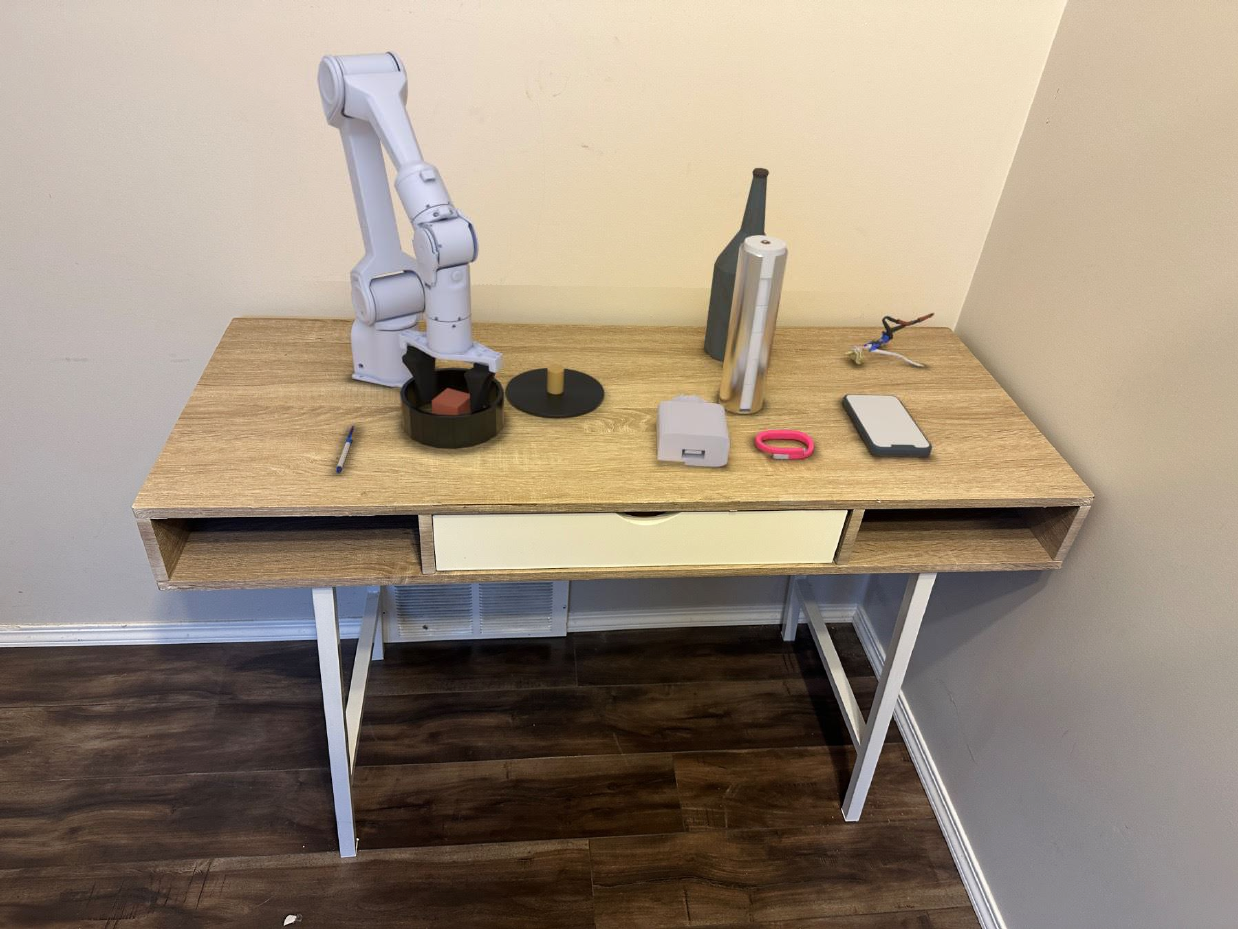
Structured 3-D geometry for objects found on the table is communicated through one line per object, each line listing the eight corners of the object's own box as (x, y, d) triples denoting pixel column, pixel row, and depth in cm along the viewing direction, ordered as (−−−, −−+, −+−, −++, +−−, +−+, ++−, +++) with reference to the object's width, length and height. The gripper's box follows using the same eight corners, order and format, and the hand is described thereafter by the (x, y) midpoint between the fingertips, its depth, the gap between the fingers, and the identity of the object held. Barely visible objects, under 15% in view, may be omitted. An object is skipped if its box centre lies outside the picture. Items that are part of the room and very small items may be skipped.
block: (433, 426, 123) (431, 400, 121) (448, 412, 126) (447, 387, 124) (458, 433, 122) (457, 407, 120) (473, 419, 125) (472, 394, 123)
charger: (717, 411, 132) (726, 467, 119) (654, 407, 132) (657, 463, 119) (721, 382, 129) (731, 437, 117) (657, 378, 129) (660, 433, 117)
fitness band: (759, 459, 122) (760, 449, 121) (750, 436, 127) (752, 427, 126) (817, 460, 122) (819, 450, 122) (807, 437, 127) (809, 428, 126)
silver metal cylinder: (767, 399, 136) (795, 238, 122) (754, 418, 131) (781, 252, 117) (726, 389, 138) (749, 229, 124) (712, 407, 133) (734, 242, 119)
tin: (384, 439, 120) (381, 404, 117) (431, 393, 131) (429, 360, 128) (478, 461, 117) (477, 425, 114) (518, 412, 128) (518, 378, 125)
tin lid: (489, 409, 128) (489, 380, 126) (527, 366, 140) (527, 339, 137) (585, 430, 125) (587, 401, 123) (616, 384, 137) (618, 356, 134)
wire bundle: (825, 389, 154) (925, 347, 157) (851, 398, 146) (955, 353, 149) (810, 332, 151) (912, 291, 154) (835, 338, 143) (943, 294, 146)
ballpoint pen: (349, 430, 122) (349, 423, 121) (356, 430, 122) (355, 423, 121) (336, 474, 113) (334, 467, 113) (343, 473, 113) (342, 467, 113)
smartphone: (838, 402, 137) (870, 458, 124) (840, 393, 136) (873, 448, 123) (895, 403, 138) (933, 459, 124) (897, 394, 137) (936, 449, 123)
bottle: (775, 352, 149) (807, 169, 133) (749, 374, 142) (780, 183, 126) (719, 335, 154) (744, 155, 137) (692, 355, 147) (714, 168, 130)
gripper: (514, 313, 116) (514, 405, 123) (417, 290, 120) (423, 380, 128) (486, 334, 110) (488, 428, 118) (386, 309, 115) (394, 402, 122)
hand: (452, 405), depth 122 cm, fingers open, 7 cm apart
